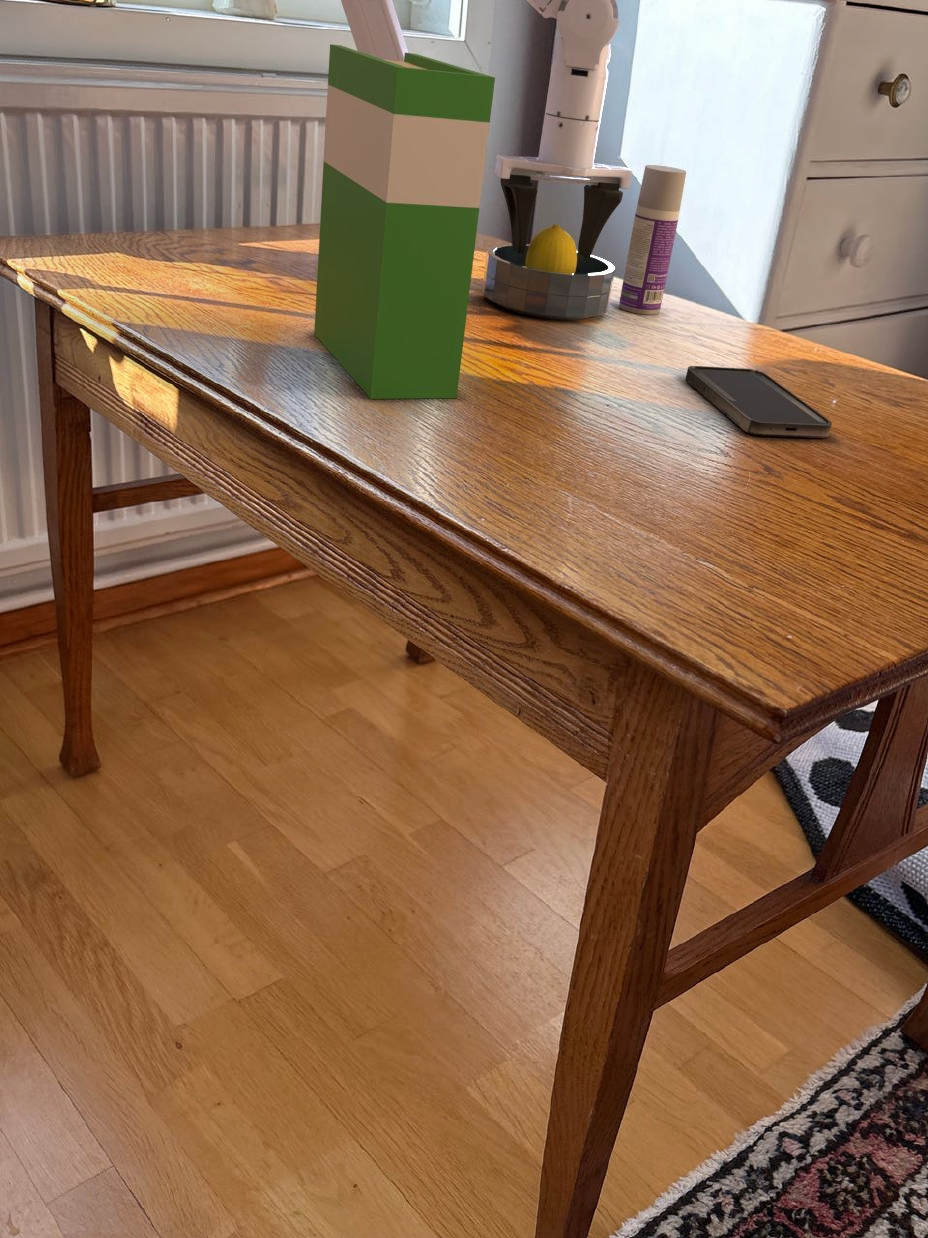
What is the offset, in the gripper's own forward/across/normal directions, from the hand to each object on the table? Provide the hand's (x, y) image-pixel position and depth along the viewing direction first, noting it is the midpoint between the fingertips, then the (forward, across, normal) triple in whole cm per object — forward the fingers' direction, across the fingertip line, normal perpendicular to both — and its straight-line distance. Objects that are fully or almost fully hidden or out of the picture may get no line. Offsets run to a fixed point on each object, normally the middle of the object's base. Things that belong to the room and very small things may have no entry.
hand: (551, 253), depth 122 cm
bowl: (+6, 0, 0) cm, 6 cm away
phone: (+6, +8, -32) cm, 34 cm away
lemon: (+5, 0, 0) cm, 5 cm away
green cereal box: (+6, -24, -23) cm, 33 cm away
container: (+6, +12, 0) cm, 13 cm away
